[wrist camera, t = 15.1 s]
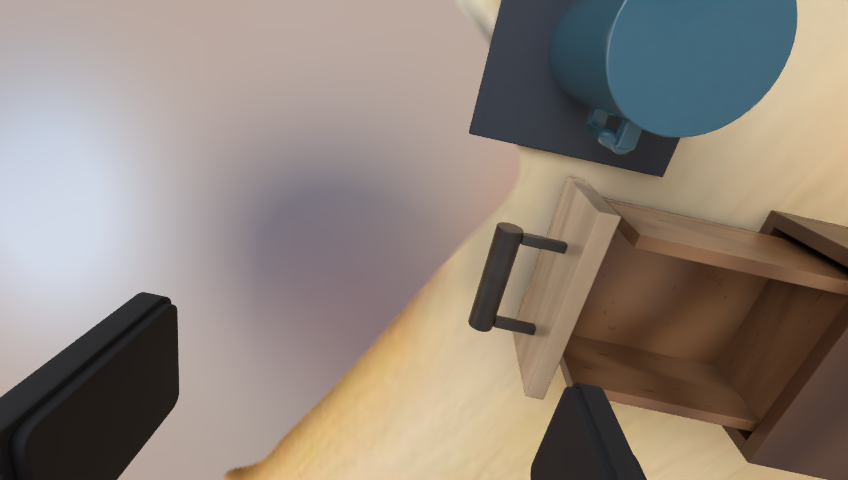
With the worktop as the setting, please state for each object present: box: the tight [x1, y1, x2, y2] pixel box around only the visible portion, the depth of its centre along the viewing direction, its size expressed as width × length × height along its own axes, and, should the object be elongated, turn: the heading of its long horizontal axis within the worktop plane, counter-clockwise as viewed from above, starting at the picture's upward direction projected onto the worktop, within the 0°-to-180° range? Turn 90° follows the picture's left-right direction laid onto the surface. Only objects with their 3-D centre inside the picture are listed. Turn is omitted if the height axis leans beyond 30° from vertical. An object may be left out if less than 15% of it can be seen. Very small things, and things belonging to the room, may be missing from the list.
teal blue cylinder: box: [549, 0, 797, 155], centre depth 21 cm, size 8×6×11 cm
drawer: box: [468, 177, 848, 432], centre depth 28 cm, size 20×13×7 cm, turn 78°
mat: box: [469, 0, 680, 177], centre depth 26 cm, size 13×13×1 cm
